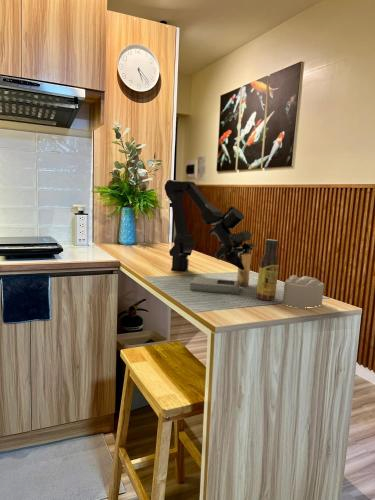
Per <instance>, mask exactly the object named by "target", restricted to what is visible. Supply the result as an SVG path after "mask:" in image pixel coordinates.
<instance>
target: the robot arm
mask: <svg viewBox="0 0 375 500" xmlns="http://www.w3.org/2000/svg"><path fill="white" fill-rule="evenodd" d="M164 191H165V195H166V196H167V198H168V199H169V201H170V203H171V208H172V209H171V211H172V216H173V222H174V227H175V233H176V234H175V237H174V239H173V246H172V247H171V248H170V250H168V252H169V256H171V257H172V260H171V261H172V262H171V267H170V268H171V269H170V270H171V271H180V272H186V271H187V270H188V269H189V266H190V265H189V264H190V263H189V261H190V259H189V258H188V257H190V256H191V255H192V252H193V250H194V249H195V241H194V235H193V234H190V233H189V231H188V226H187V220H186V215H185V210H184V202H183V198H184V196H185V192H186V194H187V195H188V196H189V198H190V199H191V200H192V201H193V203H194V204H195V206H197V208H198V209H199V211H200V216H201V218H202V220H203V222H204V223H205V224H206V225H214V226H213V227H210V230H209V233H208V234H209V235H215V236H216V237H217V239H218V240H219V242H218V243H219V245H220V248H219V249H217V251H216V252H215V258H216V259H217V261H219V260H224V261H226V262H228V263H230V264H231V265H233V266H235V267H236V268H237V269H238V268H240V269H241V270H244V269H245V268H244V266H243V264H242V262H241V260H240V258H239V253H248V254H250V252H251V251H252V250H253V249H255V245H254V244H253V243H252V242H246V241H251V238H252V233H251V232H250V231H249V230H248V229H246V230H243V231H241V232H238V233H233V232H232V230H231V229H235V228H237V226H239V224H240V223H241V222H243V220H244V219H245V216H244V213H243V212H241V211H240V210H239V209H238V208H236V207H235V206H230V207H229V208H228V209H227V211H226V212H225V213H223V212H222V211H221V210H220V209H219V208H218V207H217V206H215V205H213V204H212V203H210V202H209V200H208V199H207V198H206V196H205V195H204V194H203V193H202V191H201V190H200V188H198V186H197V185H196V182H194V181H191V180H185V181H181V180H174V179H168V180H167V181H166V183H165V184H164ZM244 242H245V243H244ZM224 256H225V258H224ZM250 269H252V263H251V262H250Z"/></svg>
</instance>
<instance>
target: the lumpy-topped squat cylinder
mask: <svg viewBox="0 0 375 500" xmlns="http://www.w3.org/2000/svg"><path fill="white" fill-rule="evenodd" d="M283 285H284V286H283V294H282V295H283V296H282V304H283V303H284V304H285V305H284V304H283V305H284V306H286V305H288V306H292V307H291V308H293V307H300V308H299V309H303V308H305V307H306V308H307V307H315V306H319V305H322V304H323V297H324V288H325V283H323V282H321V281H320V280H319V279H318V278H315V277H310V276H308V275H307V276H306V275H304V276H301V277H298V276H297V275H296V274H293V275H290V276H289V278H287V279H286V280H285V281H284V284H283ZM288 306H287V307H288Z"/></svg>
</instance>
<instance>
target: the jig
mask: <svg viewBox="0 0 375 500" xmlns="http://www.w3.org/2000/svg"><path fill="white" fill-rule="evenodd" d="M189 285H190V286H189V290H190V291H197V292H198V291H200V292H210V293H221V294H229V295H239V294H240V289H241V288H240V287H241V286H240V281H237V280H233V279H232V280H231V279H222V278H213V277H201V276H194V277H193V279H192V280H191V282H190V284H189Z"/></svg>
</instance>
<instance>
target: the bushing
mask: <svg viewBox="0 0 375 500" xmlns="http://www.w3.org/2000/svg"><path fill="white" fill-rule="evenodd" d="M239 258H240V260H241V262H242V264H243V266H244V268H245V269H244V270H241V269H240V268H238V267H237V278H236V281H240V287H244V288H245V287H249V283H250V271H251V268H250V263H251V261H252V254H251V253H249V254H248V253H239Z"/></svg>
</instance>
